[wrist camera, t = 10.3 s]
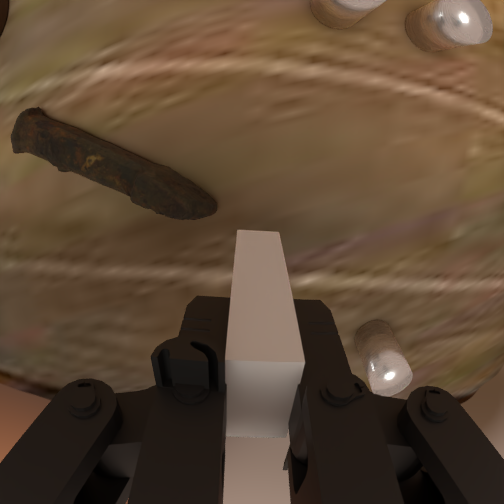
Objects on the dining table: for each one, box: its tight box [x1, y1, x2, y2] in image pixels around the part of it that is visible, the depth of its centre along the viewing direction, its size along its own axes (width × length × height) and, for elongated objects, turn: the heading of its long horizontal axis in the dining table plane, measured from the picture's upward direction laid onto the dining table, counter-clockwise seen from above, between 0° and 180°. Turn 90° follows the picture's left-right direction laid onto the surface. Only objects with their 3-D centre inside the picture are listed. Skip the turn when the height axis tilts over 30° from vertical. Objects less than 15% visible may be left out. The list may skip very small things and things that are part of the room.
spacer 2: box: [355, 320, 413, 396], centre depth 29 cm, size 4×4×7 cm
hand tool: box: [11, 107, 217, 220], centre depth 23 cm, size 19×4×5 cm, turn 61°
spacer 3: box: [405, 0, 493, 52], centre depth 16 cm, size 4×4×7 cm
